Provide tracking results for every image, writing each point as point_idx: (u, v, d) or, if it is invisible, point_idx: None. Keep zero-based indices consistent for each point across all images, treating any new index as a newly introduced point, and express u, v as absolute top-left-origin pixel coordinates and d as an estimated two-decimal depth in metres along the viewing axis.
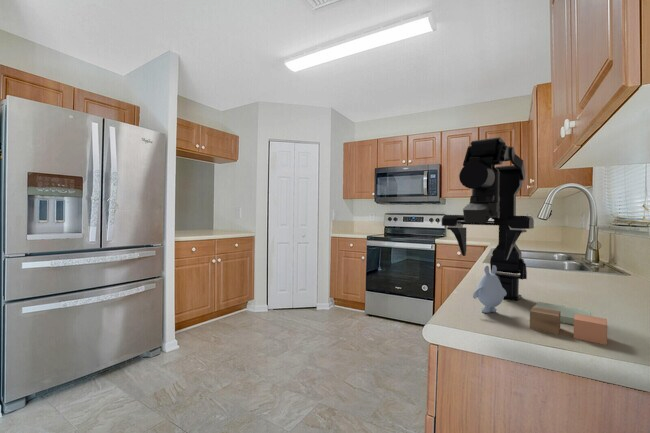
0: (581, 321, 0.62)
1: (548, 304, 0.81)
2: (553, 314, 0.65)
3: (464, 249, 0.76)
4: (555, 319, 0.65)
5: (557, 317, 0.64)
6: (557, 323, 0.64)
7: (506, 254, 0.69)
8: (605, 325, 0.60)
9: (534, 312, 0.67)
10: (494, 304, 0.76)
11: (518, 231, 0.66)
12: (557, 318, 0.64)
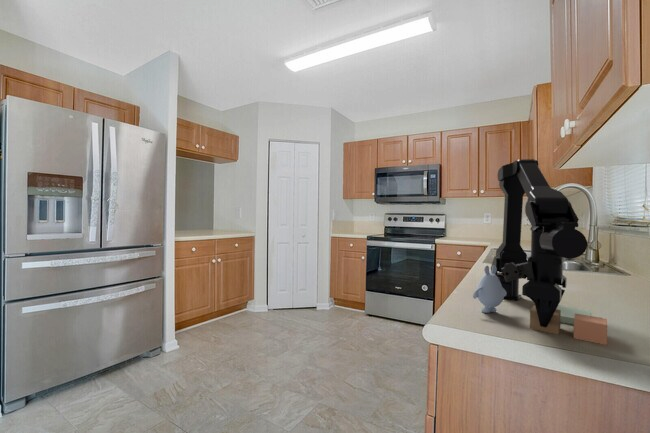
0: (581, 321, 0.62)
1: None
2: None
3: None
4: (555, 318, 0.65)
5: (557, 316, 0.64)
6: (557, 322, 0.64)
7: (539, 319, 0.66)
8: (605, 325, 0.60)
9: (534, 311, 0.67)
10: (494, 304, 0.76)
11: None
12: (557, 317, 0.64)
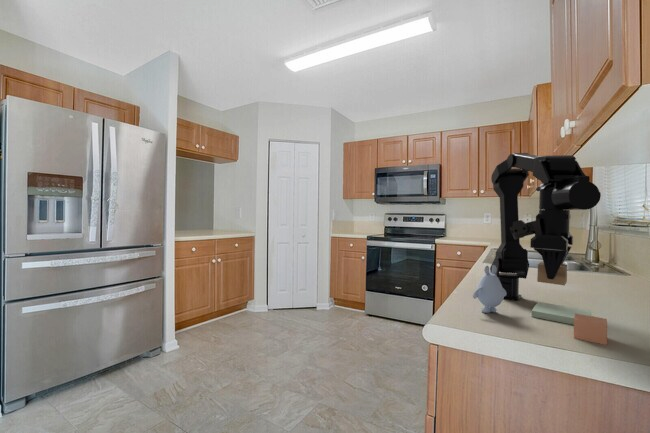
0: (581, 321, 0.62)
1: (548, 304, 0.81)
2: (560, 266, 0.69)
3: None
4: (562, 270, 0.68)
5: (564, 268, 0.68)
6: (564, 274, 0.68)
7: (546, 272, 0.70)
8: (605, 325, 0.60)
9: (542, 265, 0.71)
10: (494, 304, 0.76)
11: (534, 249, 0.69)
12: (564, 269, 0.68)
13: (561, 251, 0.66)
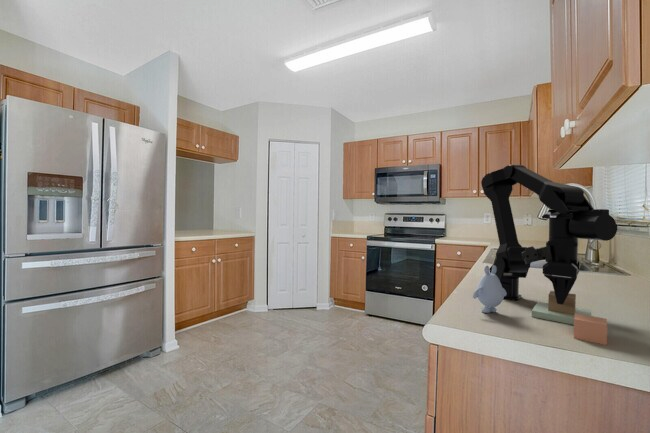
0: (581, 321, 0.62)
1: None
2: (569, 296, 0.74)
3: None
4: (571, 300, 0.73)
5: (573, 299, 0.73)
6: (573, 304, 0.73)
7: None
8: (605, 325, 0.60)
9: (552, 295, 0.76)
10: (494, 304, 0.76)
11: (544, 275, 0.73)
12: (573, 300, 0.73)
13: (571, 278, 0.69)
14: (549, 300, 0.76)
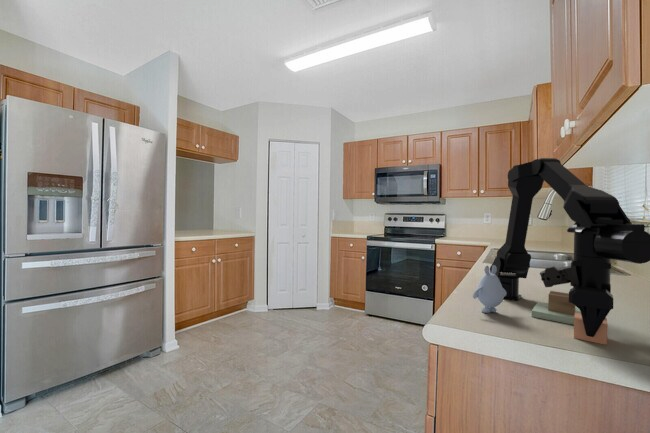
0: (581, 320, 0.62)
1: None
2: None
3: None
4: None
5: None
6: (573, 304, 0.73)
7: None
8: (605, 324, 0.60)
9: (552, 295, 0.76)
10: (494, 304, 0.76)
11: None
12: None
13: (605, 308, 0.57)
14: (549, 300, 0.76)
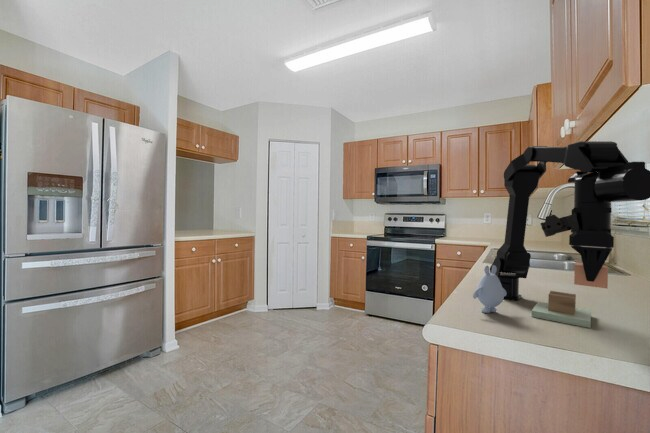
0: (582, 266, 0.62)
1: None
2: (569, 296, 0.74)
3: None
4: (571, 300, 0.73)
5: (573, 299, 0.73)
6: (573, 304, 0.73)
7: (585, 273, 0.61)
8: (606, 268, 0.60)
9: (552, 295, 0.76)
10: (494, 304, 0.76)
11: None
12: (573, 300, 0.73)
13: (605, 249, 0.57)
14: (549, 300, 0.76)
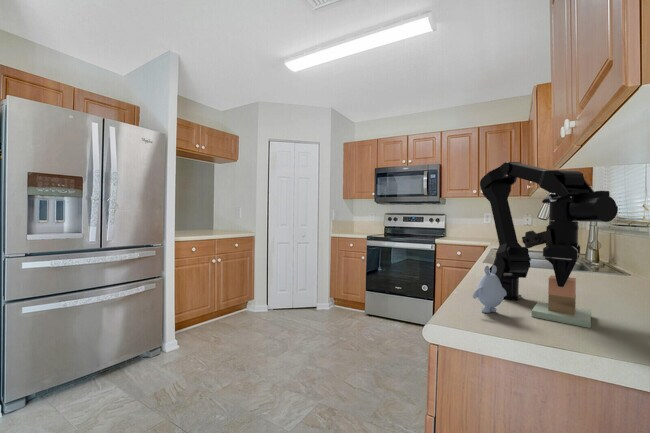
0: (554, 279, 0.75)
1: None
2: None
3: None
4: (571, 300, 0.73)
5: (573, 299, 0.73)
6: (573, 304, 0.73)
7: (556, 280, 0.74)
8: (573, 281, 0.73)
9: (552, 295, 0.76)
10: (494, 304, 0.76)
11: (545, 258, 0.73)
12: (573, 300, 0.73)
13: (571, 260, 0.69)
14: (549, 300, 0.76)
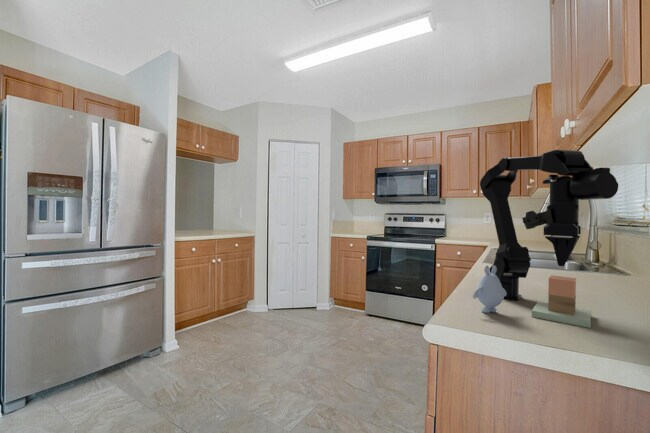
0: (554, 279, 0.75)
1: None
2: None
3: None
4: (571, 300, 0.73)
5: (573, 299, 0.73)
6: (573, 304, 0.73)
7: None
8: (573, 281, 0.73)
9: (552, 295, 0.76)
10: (494, 304, 0.76)
11: (545, 237, 0.72)
12: (573, 300, 0.73)
13: (572, 238, 0.69)
14: (549, 300, 0.76)
